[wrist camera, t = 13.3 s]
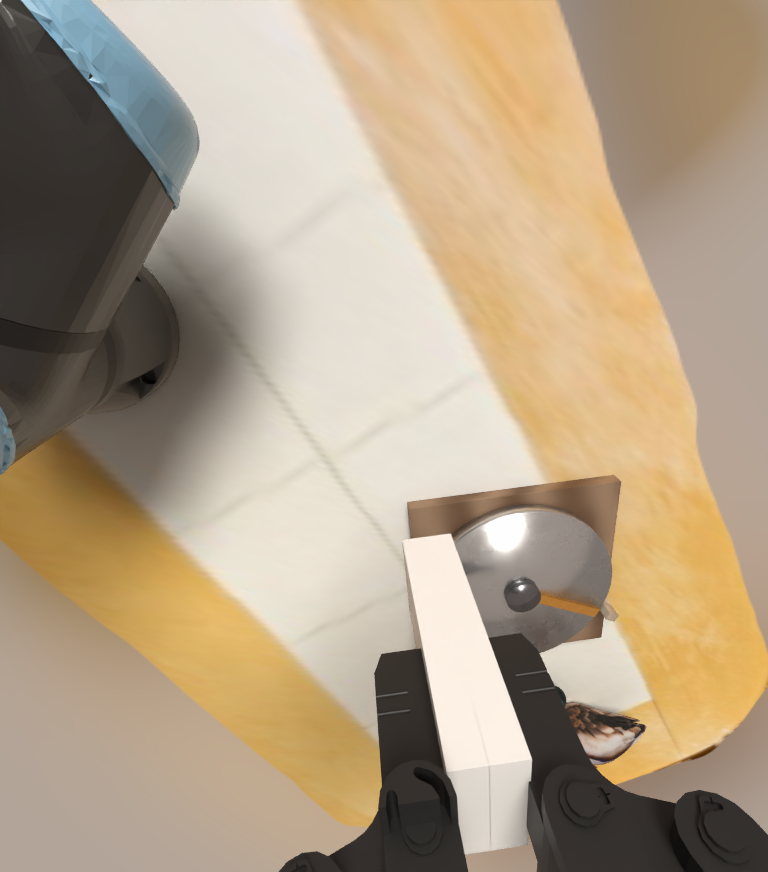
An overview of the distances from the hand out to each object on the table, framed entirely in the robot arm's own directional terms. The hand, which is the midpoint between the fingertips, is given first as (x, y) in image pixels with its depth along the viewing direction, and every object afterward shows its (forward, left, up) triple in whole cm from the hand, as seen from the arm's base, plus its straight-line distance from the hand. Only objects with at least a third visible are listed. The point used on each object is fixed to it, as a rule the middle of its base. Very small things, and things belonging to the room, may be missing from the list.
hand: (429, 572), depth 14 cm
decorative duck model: (+24, -56, -33) cm, 69 cm away
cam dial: (+14, -30, -31) cm, 45 cm away
